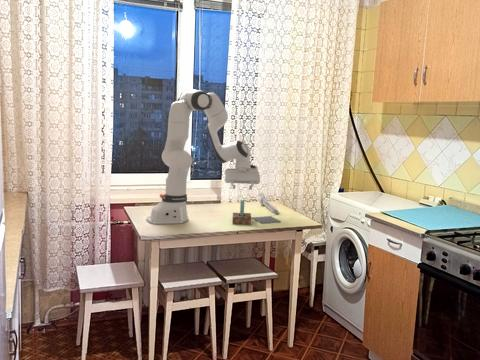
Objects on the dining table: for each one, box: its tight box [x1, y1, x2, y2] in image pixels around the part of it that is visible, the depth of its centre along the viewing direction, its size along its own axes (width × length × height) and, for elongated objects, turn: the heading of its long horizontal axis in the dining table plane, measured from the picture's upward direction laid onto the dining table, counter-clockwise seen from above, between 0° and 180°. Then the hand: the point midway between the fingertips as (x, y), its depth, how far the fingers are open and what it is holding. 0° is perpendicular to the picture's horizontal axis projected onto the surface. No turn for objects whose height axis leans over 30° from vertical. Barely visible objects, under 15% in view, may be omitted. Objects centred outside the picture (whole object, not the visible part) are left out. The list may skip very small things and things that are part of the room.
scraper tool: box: [239, 199, 245, 216], centre depth 253 cm, size 2×3×12 cm, turn 1°
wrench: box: [258, 192, 279, 215], centre depth 288 cm, size 8×2×30 cm
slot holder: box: [232, 212, 252, 226], centre depth 254 cm, size 10×10×4 cm
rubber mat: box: [251, 215, 281, 225], centre depth 260 cm, size 12×12×1 cm
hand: (242, 188), depth 263 cm, fingers open, 8 cm apart
